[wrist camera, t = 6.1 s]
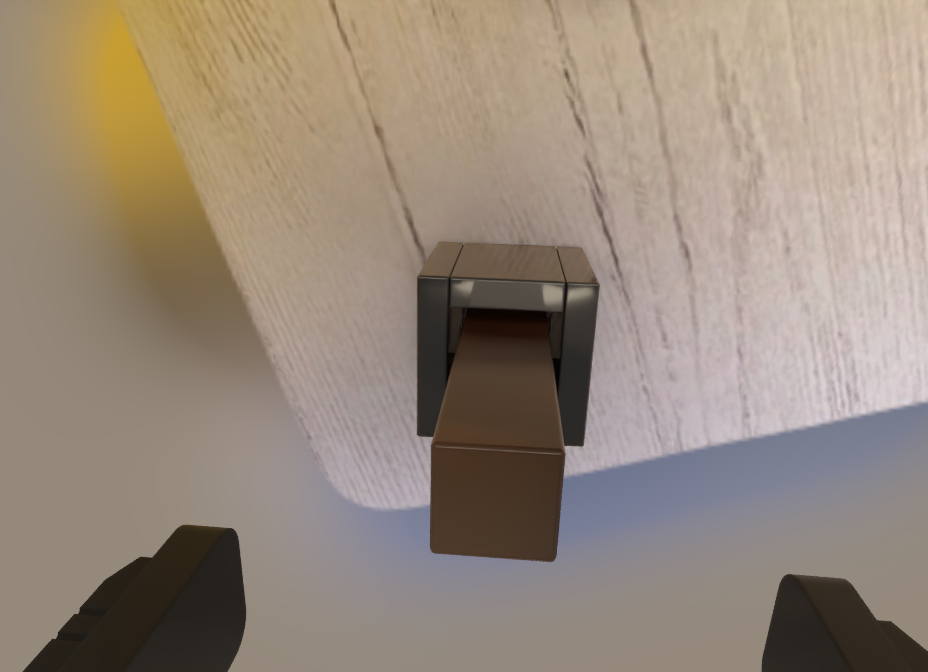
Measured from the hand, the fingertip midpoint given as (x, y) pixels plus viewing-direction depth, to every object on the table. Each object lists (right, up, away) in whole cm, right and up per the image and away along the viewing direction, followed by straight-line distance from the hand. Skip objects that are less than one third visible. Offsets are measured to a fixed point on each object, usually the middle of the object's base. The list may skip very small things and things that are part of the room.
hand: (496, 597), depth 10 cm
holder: (+1, +5, +14) cm, 14 cm away
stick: (+1, +5, +14) cm, 14 cm away
